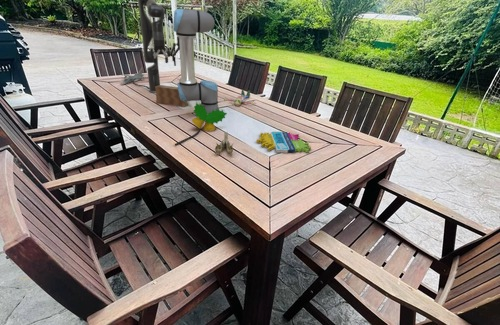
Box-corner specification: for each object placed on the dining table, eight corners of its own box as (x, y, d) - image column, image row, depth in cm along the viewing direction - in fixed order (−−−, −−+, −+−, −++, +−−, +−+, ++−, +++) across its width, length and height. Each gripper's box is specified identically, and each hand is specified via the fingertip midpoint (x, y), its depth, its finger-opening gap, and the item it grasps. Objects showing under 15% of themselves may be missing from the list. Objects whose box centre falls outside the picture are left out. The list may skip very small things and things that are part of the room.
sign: (313, 150, 142) (258, 149, 139) (312, 153, 143) (258, 152, 140) (301, 132, 164) (254, 130, 161) (301, 134, 165) (254, 133, 162)
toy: (261, 91, 228) (254, 99, 202) (261, 99, 231) (253, 108, 205) (231, 87, 233) (220, 95, 207) (230, 95, 236) (219, 104, 210)
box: (188, 104, 204) (187, 88, 198) (184, 107, 199) (183, 90, 193) (161, 100, 208) (159, 84, 202) (156, 102, 203) (154, 86, 197)
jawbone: (234, 135, 144) (233, 125, 135) (233, 160, 138) (232, 151, 129) (217, 135, 144) (216, 125, 135) (216, 160, 138) (214, 150, 129)
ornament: (218, 133, 171) (224, 110, 169) (221, 134, 163) (227, 111, 161) (186, 125, 162) (192, 101, 160) (189, 126, 155) (195, 101, 153)
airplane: (115, 77, 268) (113, 67, 262) (148, 75, 281) (146, 66, 276) (118, 87, 239) (116, 75, 234) (154, 84, 252) (153, 74, 247)
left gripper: (165, 38, 187) (167, 61, 195) (146, 38, 178) (149, 63, 187) (170, 39, 182) (172, 63, 191) (151, 39, 174) (153, 65, 182)
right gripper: (196, 36, 206) (197, 64, 217) (164, 35, 196) (166, 65, 207) (199, 37, 201) (200, 66, 211) (165, 36, 191) (168, 66, 201)
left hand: (161, 63), depth 189 cm, fingers open, 8 cm apart
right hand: (183, 65), depth 209 cm, fingers open, 13 cm apart
